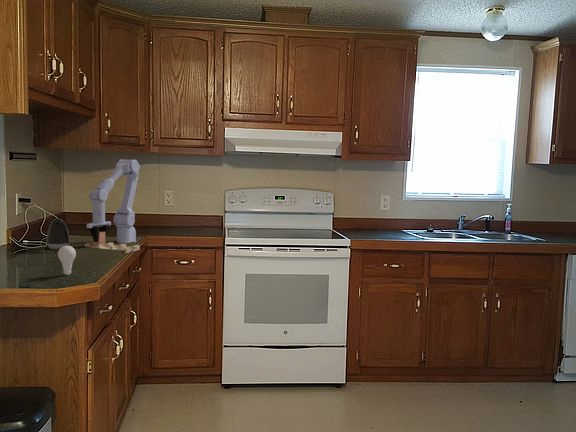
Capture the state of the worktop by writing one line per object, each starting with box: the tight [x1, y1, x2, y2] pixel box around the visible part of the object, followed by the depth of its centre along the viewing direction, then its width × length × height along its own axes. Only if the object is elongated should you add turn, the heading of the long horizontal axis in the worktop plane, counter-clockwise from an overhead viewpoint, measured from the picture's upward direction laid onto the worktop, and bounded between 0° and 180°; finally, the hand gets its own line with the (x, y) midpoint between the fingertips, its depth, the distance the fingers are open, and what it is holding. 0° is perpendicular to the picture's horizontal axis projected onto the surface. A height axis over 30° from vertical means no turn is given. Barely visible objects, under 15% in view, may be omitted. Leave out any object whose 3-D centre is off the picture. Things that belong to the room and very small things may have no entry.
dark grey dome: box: [46, 217, 71, 250], centre depth 241 cm, size 10×10×15 cm
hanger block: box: [92, 231, 106, 247], centre depth 249 cm, size 4×4×7 cm
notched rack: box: [84, 241, 141, 254], centre depth 246 cm, size 10×25×2 cm, turn 68°
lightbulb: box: [57, 245, 77, 276], centre depth 187 cm, size 6×6×11 cm
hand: (99, 241), depth 249 cm, fingers closed on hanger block, 4 cm apart
